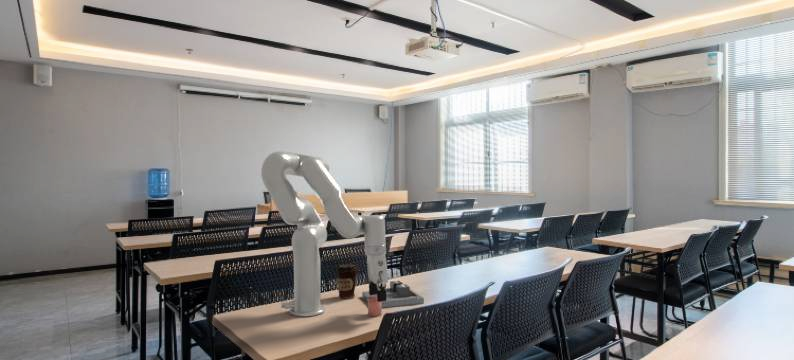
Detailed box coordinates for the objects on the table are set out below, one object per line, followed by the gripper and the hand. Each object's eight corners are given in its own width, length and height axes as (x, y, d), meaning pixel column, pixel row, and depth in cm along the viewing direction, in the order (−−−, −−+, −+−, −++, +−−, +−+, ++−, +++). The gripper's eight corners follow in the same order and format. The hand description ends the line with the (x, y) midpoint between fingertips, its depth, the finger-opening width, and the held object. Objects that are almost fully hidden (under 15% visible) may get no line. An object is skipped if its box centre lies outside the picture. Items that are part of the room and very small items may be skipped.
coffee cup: (353, 301, 177) (353, 268, 177) (333, 299, 179) (333, 267, 178) (359, 295, 185) (359, 263, 185) (340, 294, 187) (340, 263, 187)
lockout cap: (369, 317, 157) (369, 300, 156) (365, 313, 161) (365, 296, 161) (383, 316, 158) (383, 299, 158) (379, 311, 163) (379, 295, 163)
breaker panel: (374, 308, 167) (374, 292, 167) (362, 296, 183) (362, 281, 183) (423, 303, 174) (423, 287, 173) (407, 292, 190) (407, 277, 189)
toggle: (400, 297, 173) (399, 287, 173) (396, 295, 177) (396, 284, 176) (409, 296, 174) (409, 286, 174) (405, 294, 178) (405, 284, 178)
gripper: (393, 252, 153) (395, 302, 153) (378, 245, 169) (380, 290, 169) (372, 254, 150) (374, 305, 150) (358, 247, 166) (361, 293, 166)
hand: (377, 297), depth 160 cm, fingers open, 9 cm apart
